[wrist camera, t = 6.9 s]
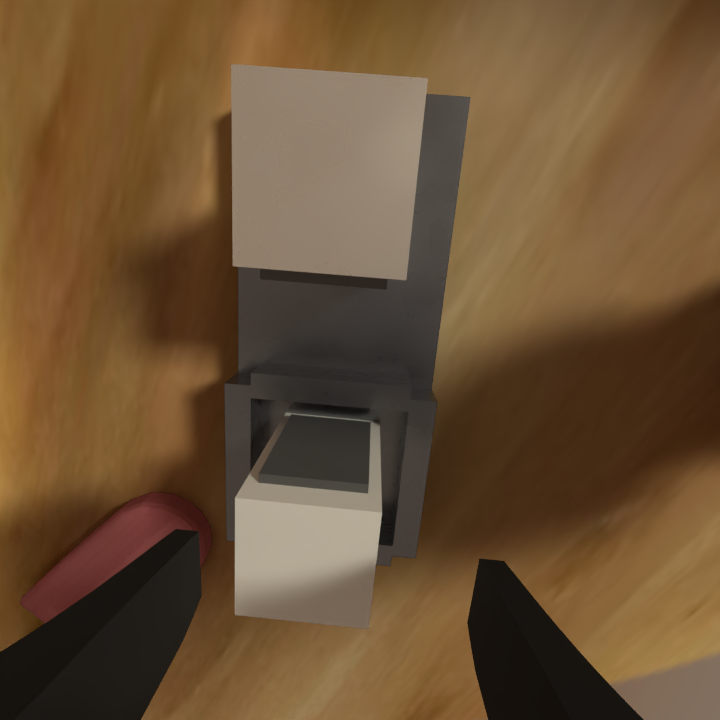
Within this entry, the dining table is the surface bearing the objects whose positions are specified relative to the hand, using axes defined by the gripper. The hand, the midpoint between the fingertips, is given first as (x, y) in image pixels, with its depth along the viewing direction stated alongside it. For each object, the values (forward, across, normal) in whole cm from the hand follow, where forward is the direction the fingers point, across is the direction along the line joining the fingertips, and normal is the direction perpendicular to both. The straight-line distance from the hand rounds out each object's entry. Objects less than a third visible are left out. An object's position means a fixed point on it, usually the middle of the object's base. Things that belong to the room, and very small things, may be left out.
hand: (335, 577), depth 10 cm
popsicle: (+9, +13, +10) cm, 19 cm away
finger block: (+7, +1, +1) cm, 7 cm away
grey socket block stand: (+8, +1, -6) cm, 10 cm away
